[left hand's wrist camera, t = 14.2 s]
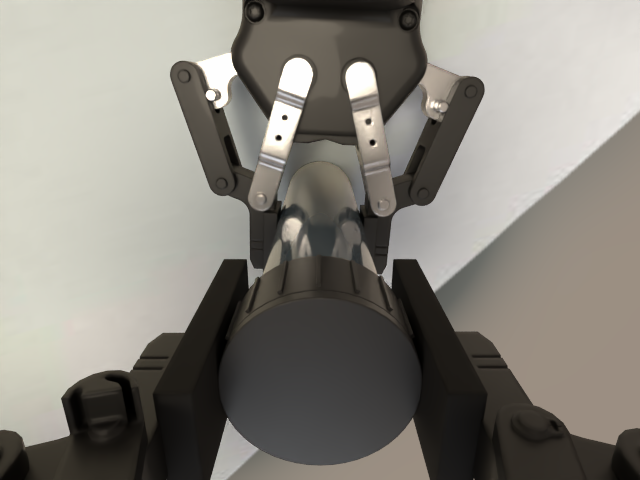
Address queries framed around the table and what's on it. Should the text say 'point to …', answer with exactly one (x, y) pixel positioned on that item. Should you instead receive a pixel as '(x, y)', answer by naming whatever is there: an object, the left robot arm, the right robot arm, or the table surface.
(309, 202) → the bottle
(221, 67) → the right robot arm
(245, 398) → the lid
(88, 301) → the table surface
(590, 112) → the table surface
